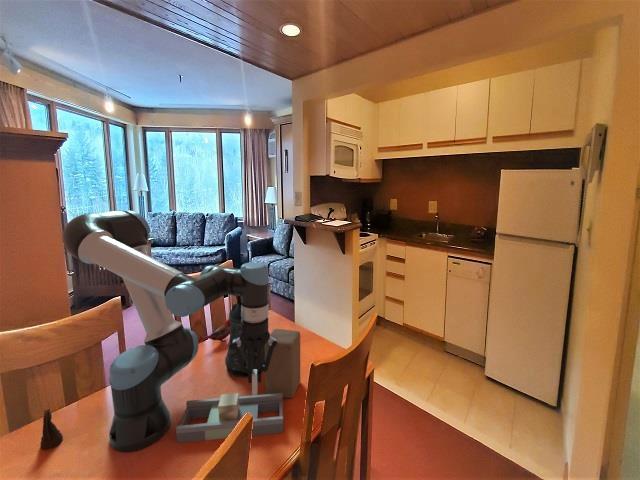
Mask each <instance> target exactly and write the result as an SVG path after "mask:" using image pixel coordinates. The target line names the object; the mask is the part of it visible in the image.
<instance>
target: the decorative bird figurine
mask: <svg viewBox="0 0 640 480" xmlns="http://www.w3.org/2000/svg"><path fill="white" fill-rule="evenodd" d="M230 330H231V325H230V321H229V318H228V319H227V320H226V321H225V323H224V324H222V325H221V326H220V327H219V328H217V329H216V330H214V331H213V332H212V333H211V334H210V335H206V336H205V335H204V336H203V337H202V336H201V337H199V339H200V340H202V339H208V340H209V339H210V340H212V341H219V342H218V344H221V343H224V342H226V341H227V340H228V341H229V338H228V336H230ZM226 338H227V339H226Z"/></svg>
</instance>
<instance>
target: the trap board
mask: <svg viewBox="0 0 640 480" xmlns="http://www.w3.org/2000/svg"><path fill="white" fill-rule="evenodd" d="M220 398H221V397H216V398H215V397H214V398H205V399H194V400H193V399H191V400H186V403H185V404H186V408H185V411H184V413H183V415H182V418H181V421H180V424H179V425H176V427H175V434H176V435H175V436H176V443H178V444H181V443H190V442H200V441H202V442H203V441H209V440H210V441H211V440H219V439H221V440H222V439H228V438H227V437H228V435H229V434H230V433H231V432H232V430H233V429H234V428H235V426H236V425H237V423H238V422H239V421H240V419H241V418H242V417H243V416H244V415H245V414H246V413H248V412H250V413H251V414H252V415H253V429H252V436H261V435H262V436H263V435H270V434H271V435H272V434H281V433H282V434H283V433H284V411H283V410H284V408H283V407H284V406H283V405H284V402H283V397H282V393H276V394H266V393H263V394H257V395H252V394H251V395H243V396H242V395H241V396H239V411H238V417H237V420H232V421H221V422H219V411H218V405H219V401H220ZM269 412H270V413H271V412H279V416H270V417H259V414H260V413H269ZM201 417H202V418H207V422H205V423H193V424H189V422H190V420H191V419H190V418H192V419H200V418H201ZM202 418H201V419H202Z"/></svg>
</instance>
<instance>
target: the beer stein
mask: <svg viewBox="0 0 640 480" xmlns="http://www.w3.org/2000/svg"><path fill="white" fill-rule="evenodd" d="M228 316H229V317H228V319H229V321H230V325H231V330H230V334H229V338H228V348H227V353H226V356H225V360H224V363H225V366H226V370H227V372H228V373H229V374H231V375H232V376H235V377H238V378H245V377H246V378H248V373H246V372H245V373H242V371H241V368H240V364H239V361H238V357H237V354H236V351H235V349H234V348H233V347H232V342H233V339H237V338H239V337H240V334H241V319H242V317H241V301H240V302H239V303H238V302H236V303H234V304H233V305H232V308H231V310H230V312H229V315H228ZM241 348H242V351H243V355H244V358H245V362H246V365H247V366H248V348H246V346H245V345H244V344H243V343H242V342H241ZM264 362H265V345H264V346H263V347H262V365H264ZM253 369H257V349H253Z"/></svg>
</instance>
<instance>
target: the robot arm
mask: <svg viewBox="0 0 640 480" xmlns="http://www.w3.org/2000/svg"><path fill="white" fill-rule="evenodd" d="M150 237H151V228H150V225H149V223H148V221H147V219H146V218H145V217H144V216H143V215H142V214H141V213H139V212H136V211H134V210H124V209H123V210H121V209H119V210H115V211H107V212H103V211H102V212H94V213H84V214H80V215H78V216H76V217H74V218H72V219H71V220H70V221H69V222H68V223H67V224H66V225H65V227H64V229H63V232H62V243H63V246H64V248H65V249H66V251H67V252H68V253H69V255H70V256H72V257H74V258H75V259H77V260H79V261H81V262H82V263H85V264H86V265H87V264H88V265H95V264H96V265H97V266H100V267H102V268H103V269H106V270H108V271H109V272H111V273H113V274H115V275H116V276H119V277H121V278H122V280H123V283H124V285H125V288H126V289H127V292H128V294H129V296H130V298H131V301H132V303H133V305H134V307H135V311H136V312H137V316H138V317H139V320H140V322H141V324H142V325H143V328H144V331H145V337H144V339H143V342H144V344H143V345H137V346H135V347H134V348H133V347H131V348H128V349H127V350H124V351H123V352H121V353H120V354H118V355H117V356H116V357H115V358H114V359H113V360H112V362H111V364H110V367H109V377H108V378H109V379H108V380H109V381H108V382H109V385H110V389H111V398H112V399H111V400H112V405H113V411H114V412H113V413H114V414H113V417H112V418H113V419H112V422H111V425H110V429H109V434H108V436H109V444H110V447H111V448H112V449H113V450H115V451H117V452H121V453H129V452H135V451H139V450H142V449H144V448H147V447H149V446H151V445H152V444H154V443H156V442H157V441H159V440H160V439H161V438H162V437H163V436H165V434H166V433H167V431H168V430H169V428H170V426H171V413H170V410H169V409H168V407H167V405H166V403H165V401H164V399H163V397H162V385H164V384H165V383H166V382H167V381H168V380H171V378H173V376H175V375H177V374H178V373H179V372H180V371H182V369H184V368H186V367H187V366H188V365H189V364H190V363H191V362H192V361H193V360H194V359H195V358H196V356H197V355H198V351H199V339H198V337H197V335H196V333H195V332H194V331H193V330H191V328H189V327H186V326H184V325H183V322H182V321H178V320H175V317H178V318H184V317H185V318H186V317H188V316H190V315H192V314H194V313H196V312H199V311H201V309H203V308H204V307H205V306H207V305H210V304H211V303H212V302H215V301H216V300H219V299H220V298H221V297H223V296H225V295H226V296H234V297H240V302H241V317H242V319H241V334H240V337H239V338H237V339H233V342H232V347H233V348H234V349H235V351H236V354H237V357H238V361H239V364H240V368H241V371H242V373H245V372H246V373H248V377H247V382H248V384H251V395H258V392H259V391H258V390H259V388H258V387H259V386H258V385H259V383H260V384H261V383H262V376H263V375H262V374H263V372H264V373H265V372H266V371H267V370H268V367H269V363H270V360H271V356H272V352H273V349H274V348H275V346H276V345H277V338H276V337H274V338H273V337H271V336H270V334H271V332H269V310H270V309H269V308H270V307H269V288H270V287H269V285H270V278H269V277H270V276H269V267H268V265H266V263H263V262H259V261H255V262H253V261H251V262H246V263H245V262H244V263H243V264H242V265H241V266H240V268H233V267H228V266H222V265H207V266H205V267H204V269H203V270H202V271H200V274H199V276H196V277H192V276H190V275H188V274H185V273H184V272H182V271H180V270H178V269H176V268H174V267H172V266H169V265H167V264H166V263H164V262H161V261H160V260H158V259H156V258H154V257H152V256H149V255H148V254H147V250H148V248H149V244H148V242H149V241H148V240H149V239H150ZM268 340H269V348H268V351H267V355H266V358H265V362H264V365H262V347H263V346H264V345H265V344H266V343H267V341H268ZM241 342H242V343H243V344H244V345H245V346H246V348H248V366H247V365H246V362H245V358H244V355H243V351H242V348H241ZM253 349H257V369H253Z"/></svg>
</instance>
